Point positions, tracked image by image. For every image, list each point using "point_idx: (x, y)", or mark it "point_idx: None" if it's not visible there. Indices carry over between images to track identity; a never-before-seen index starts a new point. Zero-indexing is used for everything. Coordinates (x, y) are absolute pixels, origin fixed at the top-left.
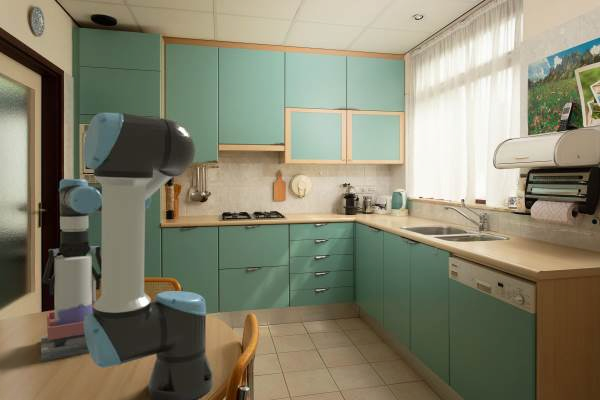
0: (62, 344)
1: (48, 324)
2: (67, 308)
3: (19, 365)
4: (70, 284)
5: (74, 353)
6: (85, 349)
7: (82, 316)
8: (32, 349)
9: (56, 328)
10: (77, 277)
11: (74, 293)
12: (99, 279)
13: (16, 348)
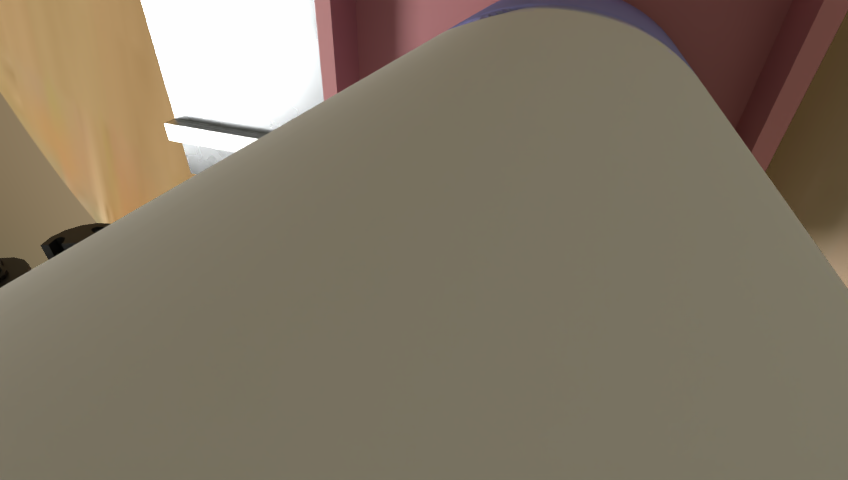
0: None
1: (822, 36)
2: (643, 34)
3: None
4: (616, 119)
5: None
6: None
7: (492, 5)
8: (766, 172)
9: None
10: (333, 170)
11: (539, 44)
12: (84, 227)
13: (825, 243)
